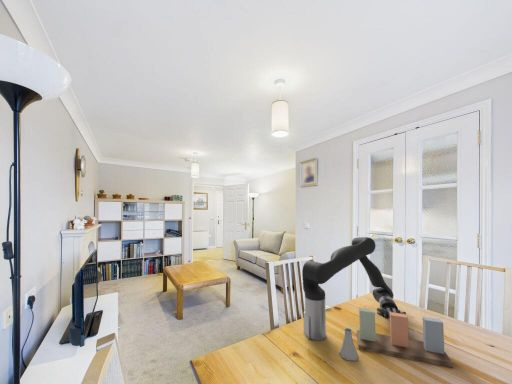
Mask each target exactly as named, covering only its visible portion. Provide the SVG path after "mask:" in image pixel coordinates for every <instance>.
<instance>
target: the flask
mask: <svg viewBox="0 0 512 384" xmlns="http://www.w3.org/2000/svg"><path fill="white" fill-rule="evenodd" d="M343 331H344V338H343V340H342V344H341V347H340V349H339V352H338V353H339V355H340V357H341V358H343V359H344V360H347V361H351V362H352V361H357V360H358V358H359V354H358V352H357V349H356V346H355V343H354V340H353V329H352V328H349V327H344V328H343Z"/></svg>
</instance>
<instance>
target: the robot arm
mask: <svg viewBox="0 0 512 384" xmlns="http://www.w3.org/2000/svg"><path fill="white" fill-rule="evenodd" d="M376 247H377V246H376V242H375V240H374V239H373V238H371V237H367V236H365V237H364V236H361V237H360V236H359V237H354V238H352V240H351V245H347V246H342V247H340V248H337V249H336V250H334V251H333V252H332V253H331V256H330V260H328V261H327V262H318V261H315V260H307V261H305V262H304V264H303V266H302V269H301V270H302V273H301V275H302V289H303V292H304V311H303V333H304V335H305V336H306V337H307V339H308V340H313V341H322V340H325V339H326V336H327V330H326V329H327V328H326V327H327V326H326V318H327V317H326V292H325V290H324V289H323V288H322V287H321V286H320V285H323V284H325V283H327V282H328V281H329V280H330V279H331V278H332V277H334V276H335V275H336V274H338V273H339V272H340V271H343V270H344V269H346V268H348V267H349V266H350V265H352V264H354V263H355V262H357V261H358V260H359V262H360V264H361V265H362V266H363V268H364V270H365V272H366V274H367V276H368V279H369V281H370V283H371V285H372V286H373V287H374V289H373V290H372V296H373V298H374V299H375V301H376V302H377V303H378V304H379V305H378V306H379V307H377V308H376V314H377V315H378V316H381V317H382V318H384V319H385V320H388V319H389V320H390V312H393V313H400V314H406V315H407V312H406V311H403V312H402V311H401V310H400V309H399V307H398V305H397V304H396V302H395V301H394V299H393V298H394V292H393V290H392V289H391V287H389V286H388V284H387V283H386V280H385V279H384V277H383V275H382V273H381V270H380V269H379V267H378V266H376V264H374V263H373V262H372V260H370V258H369V257H368V256H369V255H371V254H373V253H374V252H375V250H376Z"/></svg>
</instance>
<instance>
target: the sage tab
mask: <svg viewBox="0 0 512 384" xmlns="http://www.w3.org/2000/svg"><path fill="white" fill-rule="evenodd" d="M358 312H359V313H358V315H359V316H358V321H359V331H360V339H363V340H369V341H374V342H376V335H375V333H376V312H375V310H374V309H371V308H363V307H359V309H358Z"/></svg>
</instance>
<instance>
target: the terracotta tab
mask: <svg viewBox="0 0 512 384" xmlns="http://www.w3.org/2000/svg"><path fill="white" fill-rule="evenodd" d="M408 318H409V317H408V316H407V313H406V314H400V313H393V312H390V319H389V336H390V341H391V344H392V345H396V346H402V347H407V348H409V346H408V339H409V323H408V322H409V320H408Z"/></svg>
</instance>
